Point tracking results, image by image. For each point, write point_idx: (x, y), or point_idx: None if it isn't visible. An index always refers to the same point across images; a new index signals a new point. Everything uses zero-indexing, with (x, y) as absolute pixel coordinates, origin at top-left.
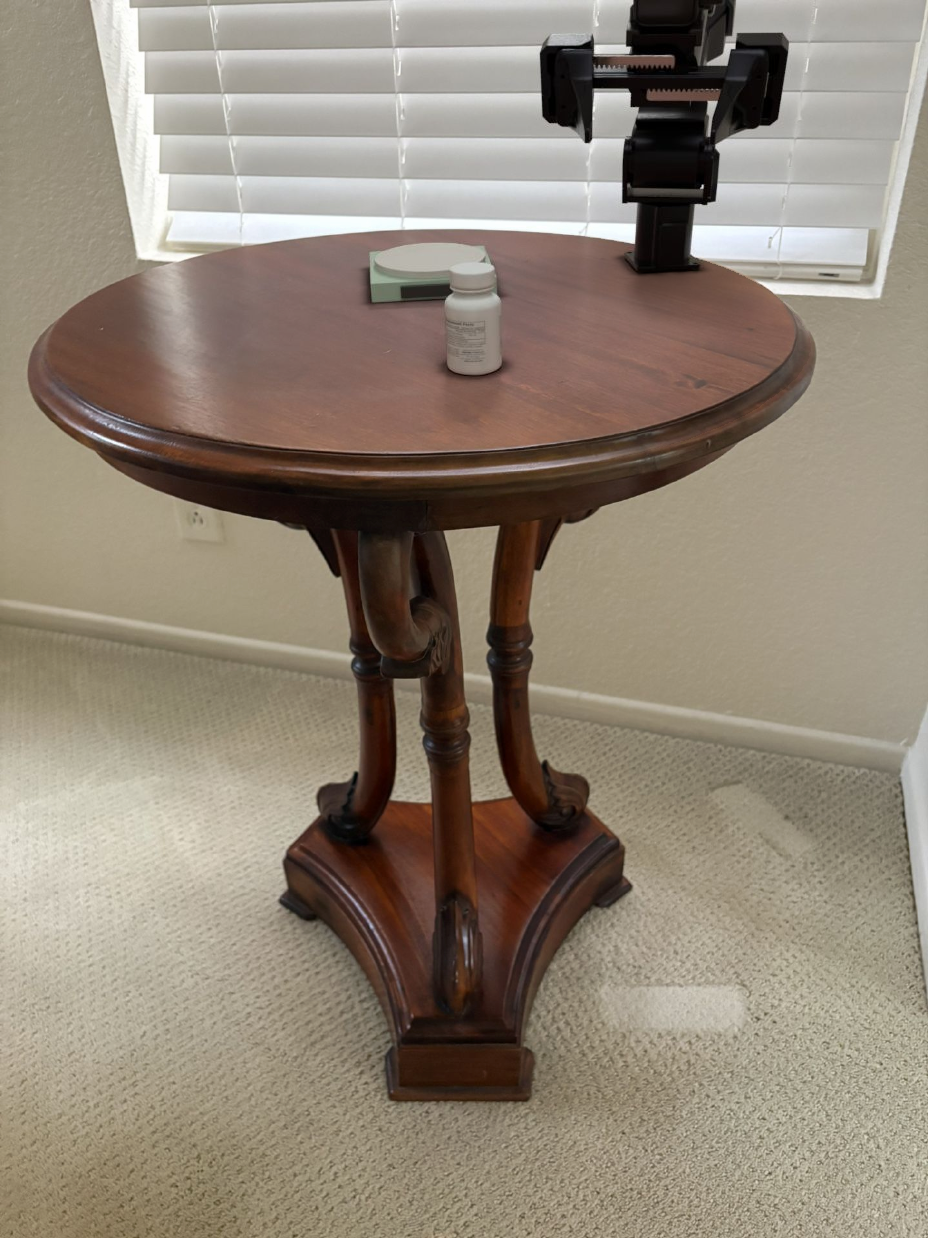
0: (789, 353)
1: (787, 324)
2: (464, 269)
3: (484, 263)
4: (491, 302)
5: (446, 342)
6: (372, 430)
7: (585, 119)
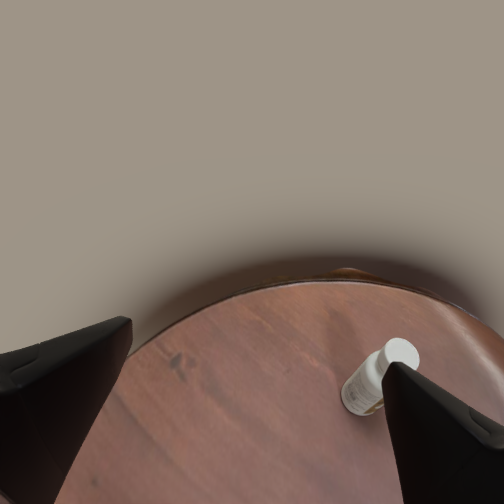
0: None
1: None
2: (406, 350)
3: None
4: (370, 358)
5: None
6: (376, 303)
7: (415, 373)
